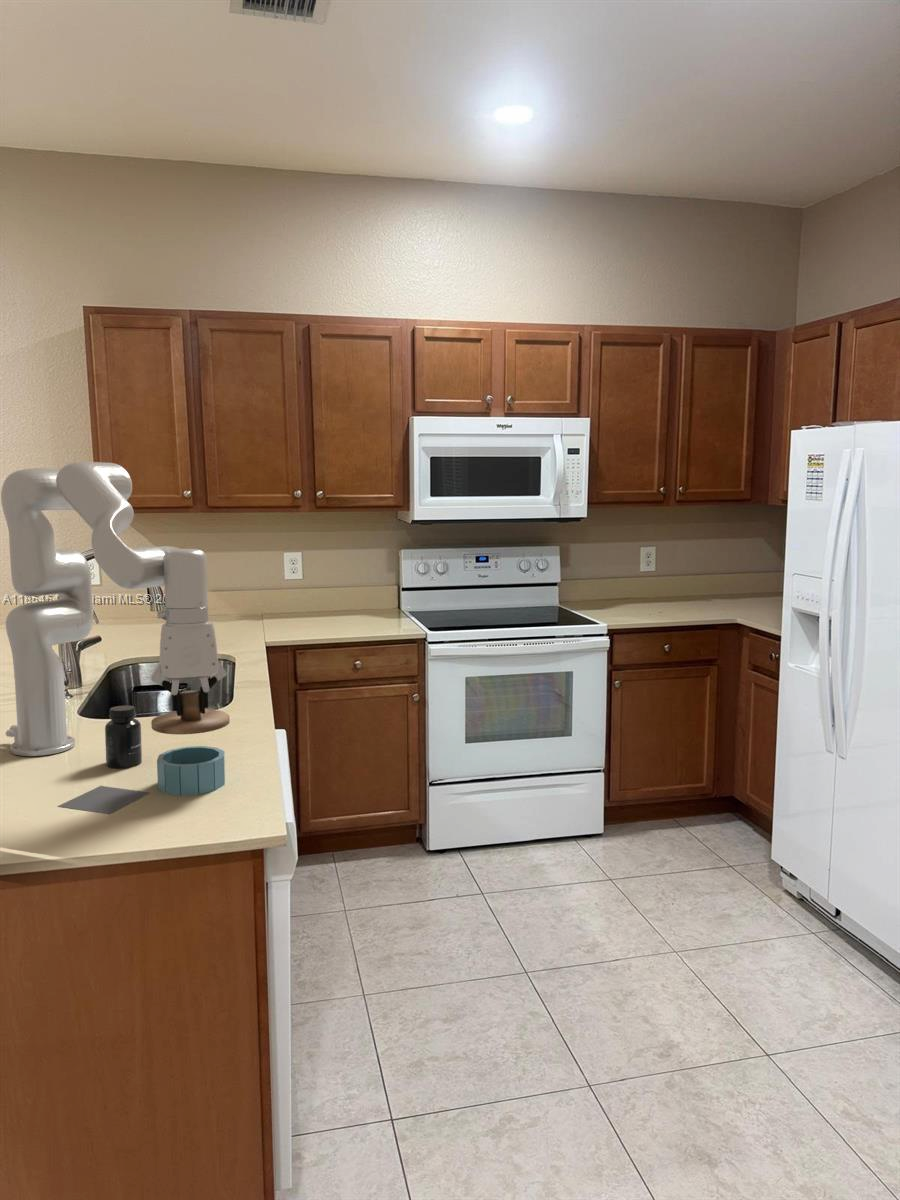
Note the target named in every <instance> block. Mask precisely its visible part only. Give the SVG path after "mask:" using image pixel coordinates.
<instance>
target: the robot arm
mask: <svg viewBox="0 0 900 1200" xmlns="http://www.w3.org/2000/svg"><path fill="white" fill-rule="evenodd" d="M132 493H133V481H132V478H131V475H130V474H129V472H128V471H127V470H126V469H125V468H124V467H123V466H122V465H119V464H117V463H115V462H103V461H102V462H101V461H74V462H71V463H67V464H66V465H64V466H63V467H62V468H41V467H40V468H37V467H36V468H23V469H19V470H16V471H14V472H11V473H9V475H8V476H7V477H6V478H5V480H4V482H3V484H2V487H1V491H0V499H1V507H2V508H1V509H2V511H3V515H4V518H5V520H6V525H7V530H8V537H9V538H8V540H9V542H8V544H9V545H8V546H9V559H10V561H9V562H10V574H11V583H12V586H13V588H14V590H15V592H16V593H18V594H19V595H21V596H25V597H40V596H42V597H43V596H50V595H58V596H59V597H58V599H55V600H44V601H36V602H28V603H24V604H21V605H18V606H16V607H14V608H12V609H11V610H10V611H9V613H8V614H7V617H6V620H5V630H6V635H7V638H8V642H9V646H10V649H11V656H12V664H13V677H14V690H15V693H14V694H15V704H16V705H15V706H16V708H15V709H16V725H15V724H13V725H11V726H10V727H9V729H8V730H6V732H5V736H6V737H11V738H14V742H13V743H12V744H11V745H10V748H9V750H10V753H11V754H13V755H16V756H23V757H40V756H41V757H42V756H48V755H49V756H50V755H54V754H59V753H61V752H65V751H68V750H70V749H72V748H74V746H75V745H76V739H75V738H74V737H73V736H71V735H67V734H68V733H67V732H68V731H67V714H66V713H67V709H66V695H65V694H66V693H65V690H66V689H65V675H64V673H65V672H64V665H63V663H62V660H61V658H60V657H59V656H58V654H57V653H56V652H55V649H54V648H53V646H56V645H60V644H67V643H72V642H77V641H78V642H79V641H81V640H84V639H85V638H87V637H88V636H89V635H90V633H91V630H92V627H93V621H94V618H93V616H94V613H93V611H94V610H93V587H92V574H91V569H90V565H89V563H88V560H87V558H86V557H85V556H84V555H83V554H82V553H81V552H79V551H78V550H75V549H72V548H71V549H69V548H61V549H56V547H55V531H54V528H53V525H52V524H51V522H50V520H49V519H48V518H47V516H46V515H45V513H44V512H42V511H76V513H77V514H78V515H79V516H80V518H82V520H83V521H84V522H85V523H86V524H87V525H88V526H89V528H90V529H92V533H91V548H92V549H91V550H92V553H93V556H94V559H95V562H96V563H97V565H98V567H100V568H101V570H102V571H103V572H104V573H105V574H106V576H107V577H108V578H109V579H110V580H112V582H114V583H115V584H116V585H117V586H119V587H121V588H123V589H125V590H139V589H140V590H141V589H149V588H158V587H159V588H160V587H164V604H165V605H164V608H163V609H162V610H160V611H159V610H158V611H157V613H156V614H157V615H156V616H157V619H162V620H163V621H165V623H163V624H162V625H161V632H160V640H159V641H160V643H159V662H158V664H157V666H156V668H154V670H153V672H152V674H151V676H150V680H151V682H153V683H155V684H157V685H159V686H161V687H163V688H164V689H165V690H166V691H168V692H169V693H170V694H171V703H172V712H175V711H176V713H177V716H181V715H182V710H181V694H180V690H179V686H180V680H186V679H187V680H189V679H199V683H200V687H199V691H200V711H201V713H202V714H205V709H208V708H209V691H210V690H211V689H212V688H213V686H214V685H216V683H217V682H218V681H221V680H222V679H223V678H225V677H226V676H227V675H228V674H227V670H226V669H225V667H224V666H223V665H222V663H221V662H220V661H219V655H218V644H217V638H216V636H217V635H216V631H215V627H214V623H213V622H212V621H209V606H208V604H209V599H208V598H209V597H208V574H207V572H208V570H207V556H206V553H205V552H204V551H203V550H200V549H199V548H198V549H197V548H179V547H176V546H170V545H169V546H168V545H161V546H142V547H141V546H140V547H129V546H127V545H126V544H125V543H124V542H123V541H122V540H121V538H120V537H119V536H120V535H122V534H123V533H125V532H126V530H127V529H128V528H129V527H130V526H131V524H132V523H133V520H134V515H135V514H134V513H135V512H134V508H133V506H132V505H131V503H130V502H128V500H129V498H130V497H131V495H132ZM161 676H162V677H161ZM169 680H170V681H169Z"/></svg>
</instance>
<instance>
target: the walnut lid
mask: <svg viewBox="0 0 900 1200" xmlns="http://www.w3.org/2000/svg"><path fill="white" fill-rule="evenodd" d="M179 692H180V691H179ZM180 694H181V710H182V715H181V716H177V713H176V711H171V712H168V713H163V714H160V715H158V716H156V717H154V718H152V720H151V721H150V722H151V723H150V725H151V729H152V731H155V732H156V733H159V734H160V733H161V734H166V735H194V734H195V735H196V734H202V733H210V732H212V731H216V730H220V729H223V728H225V727H227V726H229V724H230V723H231V721H230V714H229V713H227V712H226V711H221V710H218V709H217V710H216V709H208V708H205V714H202V713H201V711H200V690H184V691H181V692H180Z"/></svg>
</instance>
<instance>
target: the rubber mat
mask: <svg viewBox="0 0 900 1200" xmlns="http://www.w3.org/2000/svg"><path fill="white" fill-rule="evenodd" d="M149 794H151V792H149V791H141V790H134V789H128V788H120V787H112V786H104V785H99V786H97V787H95V788H93V789H90V790H89V791H86V792H84V793H83V794H81V795H78V796H76V797H74V798H72V799H70V800H67V801H65V802H63V803H61V804H59V805H57V807H58V808H63V809H70V810H78V811H85V812H89V813H90V812H91V813H98V814H99V813H100V814H104V815H105V814H106V815H111V814H114V813H115V812H117V811H118V810H121V809H122V808H124V807H126V806H128V805H130V804H132V803H134V802H136V801H138V800H140V799H142V798H144V797H145V796H147V795H149Z"/></svg>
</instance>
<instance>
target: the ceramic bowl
mask: <svg viewBox="0 0 900 1200" xmlns="http://www.w3.org/2000/svg"><path fill="white" fill-rule="evenodd" d="M225 753H226V752H225V750H223V749H220V748H218V747H215V746H206V745H194V746H192V745H190V746H183V747H178V748H171V749H170V750H169V749H168V750H166V751H164V752H162V753H160V754H158V756H157V759H156V765H157V766H156V767H157V769H156V770H157V771H156V773H157V790H159V791H160V792H162V793H163V794H165V795H170V796H179V797H180V796H182V797H183V796H198V795H203V794H207V793H210V792H215V791H217V790H218V789H221V788H222V787H224V786H225V784H226V762H225V761H226V759H225V758H226V757H225Z"/></svg>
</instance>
